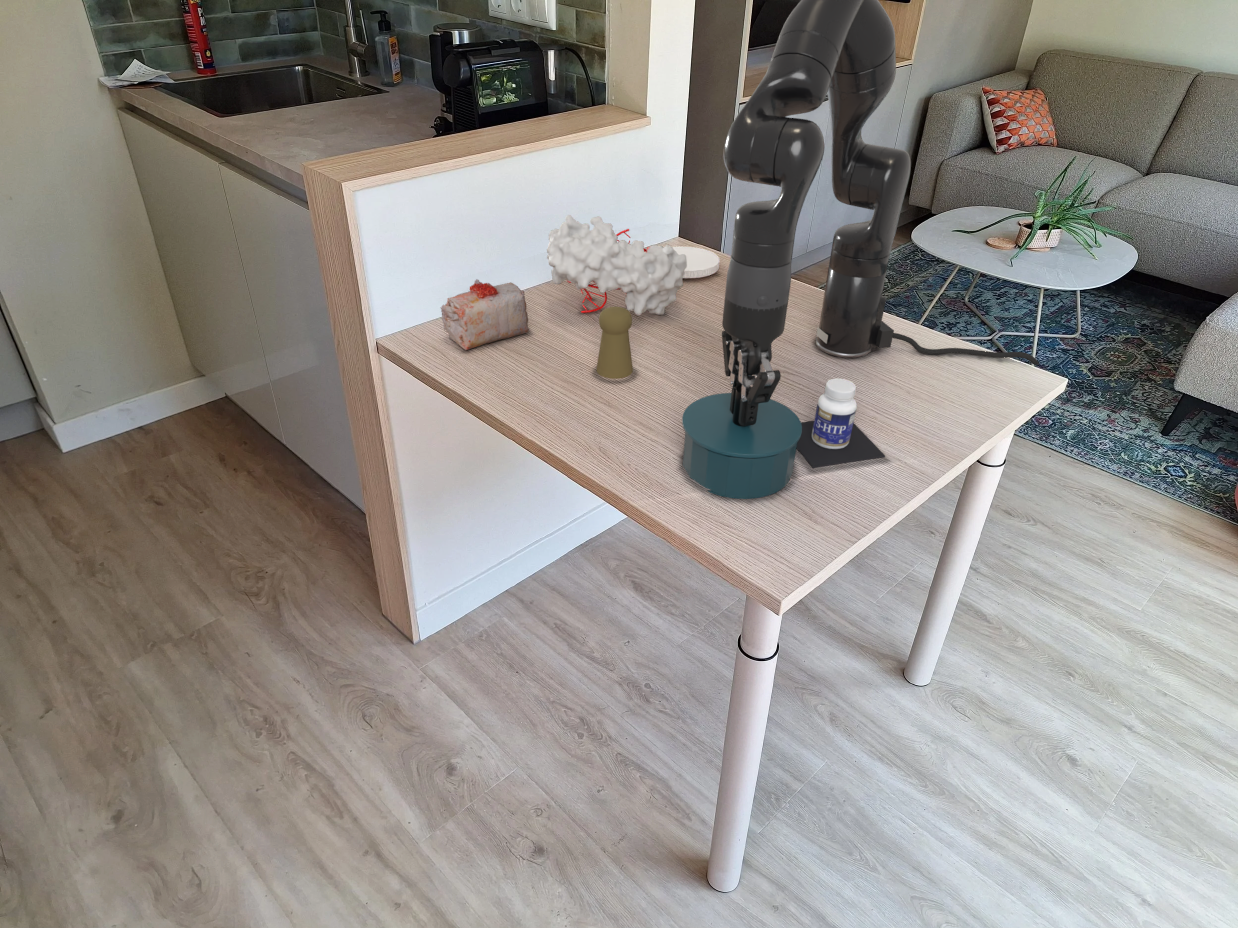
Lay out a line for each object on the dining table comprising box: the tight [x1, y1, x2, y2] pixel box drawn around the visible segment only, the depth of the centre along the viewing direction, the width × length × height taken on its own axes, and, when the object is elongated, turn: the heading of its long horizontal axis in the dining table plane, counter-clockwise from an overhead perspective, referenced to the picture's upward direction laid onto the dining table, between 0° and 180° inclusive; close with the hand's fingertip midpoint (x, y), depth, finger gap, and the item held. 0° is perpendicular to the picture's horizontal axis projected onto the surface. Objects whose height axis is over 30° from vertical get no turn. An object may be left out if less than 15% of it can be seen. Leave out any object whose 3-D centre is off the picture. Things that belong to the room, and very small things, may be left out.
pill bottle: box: [812, 377, 858, 449], centre depth 117 cm, size 5×5×9 cm
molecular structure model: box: [546, 214, 687, 316], centre depth 152 cm, size 20×18×25 cm
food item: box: [439, 278, 530, 351], centre depth 144 cm, size 14×8×10 cm, turn 125°
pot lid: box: [681, 385, 802, 458], centre depth 109 cm, size 16×16×6 cm
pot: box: [682, 432, 797, 500], centre depth 113 cm, size 15×15×6 cm
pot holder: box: [796, 420, 886, 469], centre depth 119 cm, size 11×11×1 cm
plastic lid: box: [672, 245, 721, 279], centre depth 173 cm, size 14×14×2 cm
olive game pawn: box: [596, 305, 634, 380], centre depth 133 cm, size 6×6×11 cm
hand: (742, 417), depth 110 cm, fingers closed on pot lid, 2 cm apart
